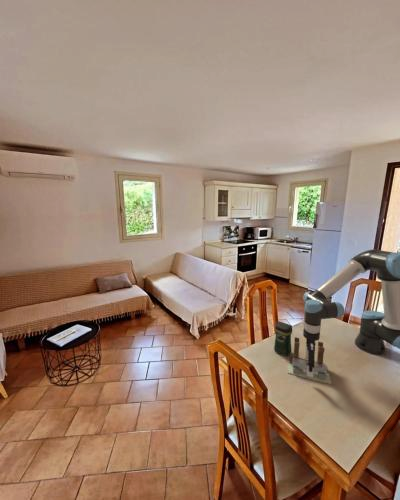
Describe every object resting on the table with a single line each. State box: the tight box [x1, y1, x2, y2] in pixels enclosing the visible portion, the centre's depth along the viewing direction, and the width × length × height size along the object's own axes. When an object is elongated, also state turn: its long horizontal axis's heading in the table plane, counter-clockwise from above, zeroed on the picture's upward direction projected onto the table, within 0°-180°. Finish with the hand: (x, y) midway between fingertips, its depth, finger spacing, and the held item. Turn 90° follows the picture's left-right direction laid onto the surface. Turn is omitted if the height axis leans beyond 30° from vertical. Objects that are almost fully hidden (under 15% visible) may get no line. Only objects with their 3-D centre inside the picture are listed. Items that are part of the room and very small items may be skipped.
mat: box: [287, 363, 332, 385], centre depth 116 cm, size 20×7×3 cm, turn 68°
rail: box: [291, 358, 328, 374], centre depth 115 cm, size 16×3×3 cm, turn 68°
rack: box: [289, 336, 326, 365], centre depth 122 cm, size 18×6×13 cm, turn 68°
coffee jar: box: [273, 320, 293, 357], centre depth 133 cm, size 10×8×19 cm
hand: (308, 367), depth 116 cm, fingers open, 13 cm apart
